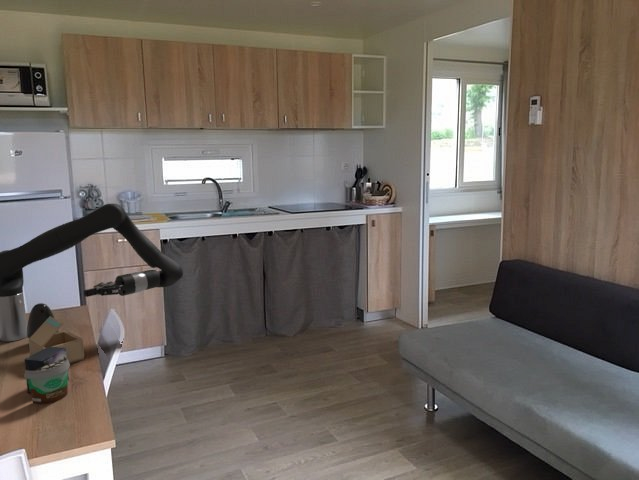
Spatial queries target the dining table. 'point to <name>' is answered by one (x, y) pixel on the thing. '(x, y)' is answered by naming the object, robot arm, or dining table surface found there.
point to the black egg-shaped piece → (38, 318)
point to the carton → (63, 345)
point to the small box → (44, 359)
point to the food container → (48, 382)
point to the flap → (46, 331)
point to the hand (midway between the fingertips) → (84, 293)
